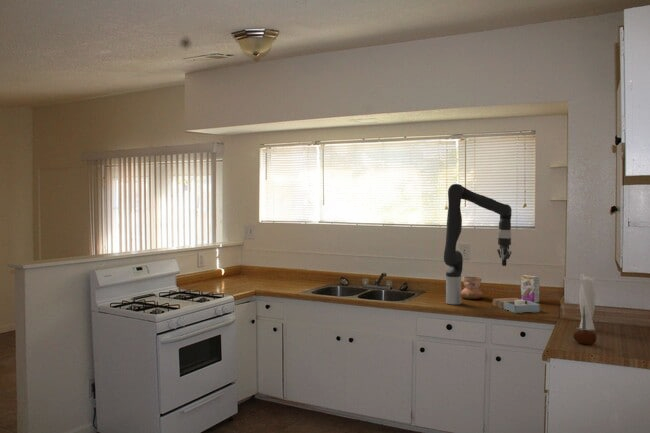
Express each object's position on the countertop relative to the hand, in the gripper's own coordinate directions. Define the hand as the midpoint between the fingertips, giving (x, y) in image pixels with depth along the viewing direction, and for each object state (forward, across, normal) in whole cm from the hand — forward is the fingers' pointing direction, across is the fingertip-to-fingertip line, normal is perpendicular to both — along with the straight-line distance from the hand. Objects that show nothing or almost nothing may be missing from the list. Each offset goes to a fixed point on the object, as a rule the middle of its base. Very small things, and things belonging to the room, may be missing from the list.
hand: (504, 265), depth 341 cm
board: (+25, 0, +4) cm, 26 cm away
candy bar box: (+25, -12, +26) cm, 38 cm away
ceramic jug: (+26, -33, -4) cm, 42 cm away
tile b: (+21, +15, +4) cm, 26 cm away
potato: (+24, +89, -12) cm, 93 cm away
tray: (+25, +13, +4) cm, 28 cm away
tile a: (+22, +9, +5) cm, 24 cm away
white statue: (+25, +63, +9) cm, 69 cm away
